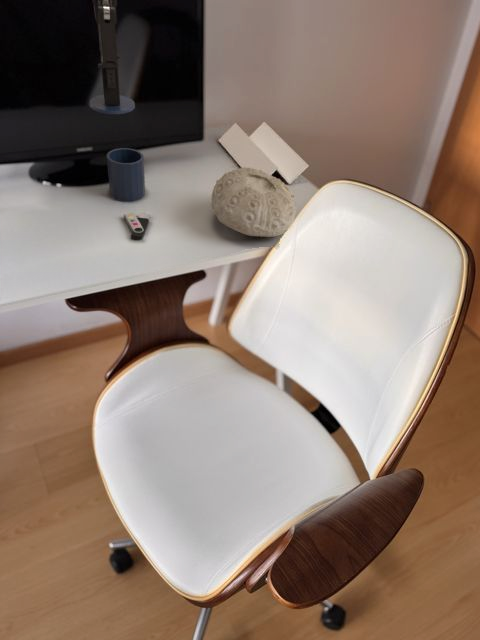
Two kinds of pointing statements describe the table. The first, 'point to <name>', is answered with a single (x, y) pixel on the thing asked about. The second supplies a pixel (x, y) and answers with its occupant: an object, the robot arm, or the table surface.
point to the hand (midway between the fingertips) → (112, 100)
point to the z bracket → (263, 152)
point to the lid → (124, 107)
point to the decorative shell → (253, 203)
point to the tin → (126, 174)
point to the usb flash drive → (137, 224)
